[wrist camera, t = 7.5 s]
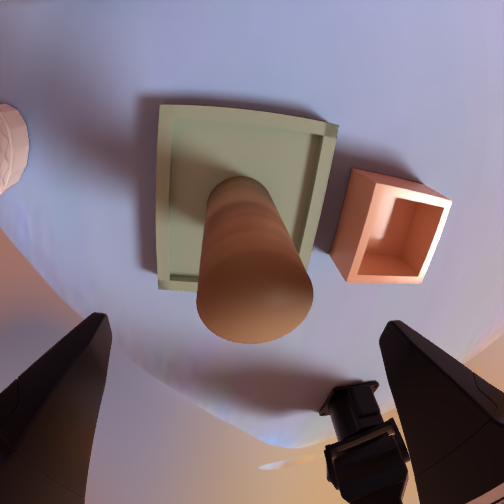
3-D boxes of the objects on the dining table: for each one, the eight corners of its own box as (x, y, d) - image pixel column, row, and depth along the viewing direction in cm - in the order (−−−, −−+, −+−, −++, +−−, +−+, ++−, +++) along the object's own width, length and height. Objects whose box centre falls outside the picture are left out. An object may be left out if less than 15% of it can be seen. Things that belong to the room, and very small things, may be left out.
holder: (399, 259, 22) (420, 283, 19) (329, 255, 21) (346, 282, 18) (424, 184, 19) (452, 200, 16) (351, 167, 18) (376, 182, 15)
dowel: (267, 239, 19) (298, 343, 11) (204, 235, 18) (195, 341, 10) (276, 180, 17) (326, 256, 9) (209, 173, 16) (197, 248, 8)
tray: (294, 283, 22) (299, 296, 21) (162, 276, 21) (158, 289, 19) (329, 122, 16) (338, 125, 15) (165, 104, 15) (159, 104, 13)
